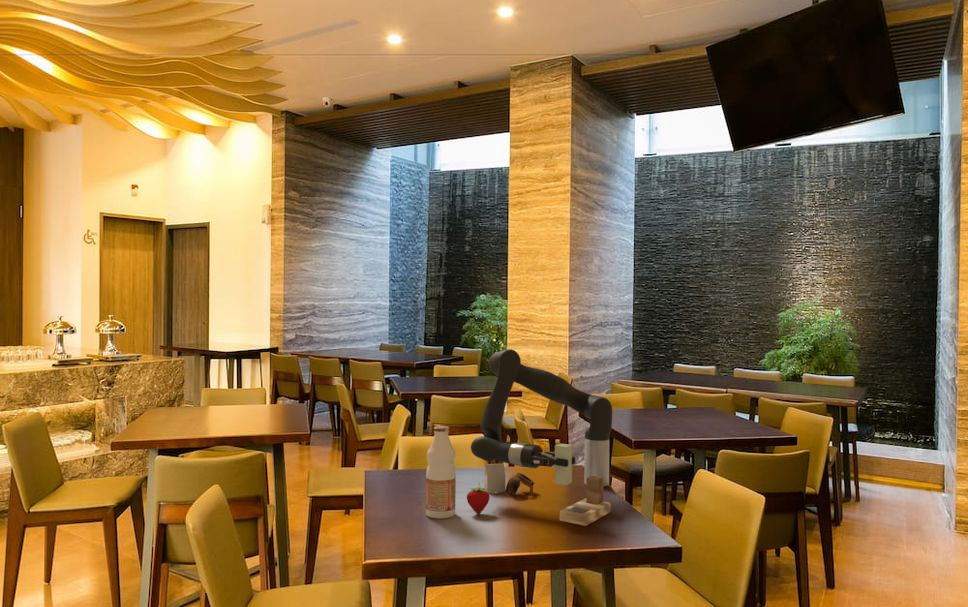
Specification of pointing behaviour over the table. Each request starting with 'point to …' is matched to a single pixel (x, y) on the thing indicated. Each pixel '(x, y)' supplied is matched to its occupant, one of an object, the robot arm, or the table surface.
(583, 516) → the base slab
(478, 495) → the strawberry
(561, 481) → the pillar
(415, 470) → the table surface
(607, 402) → the robot arm
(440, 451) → the fruit juice
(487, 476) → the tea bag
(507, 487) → the pottery mug
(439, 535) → the table surface
